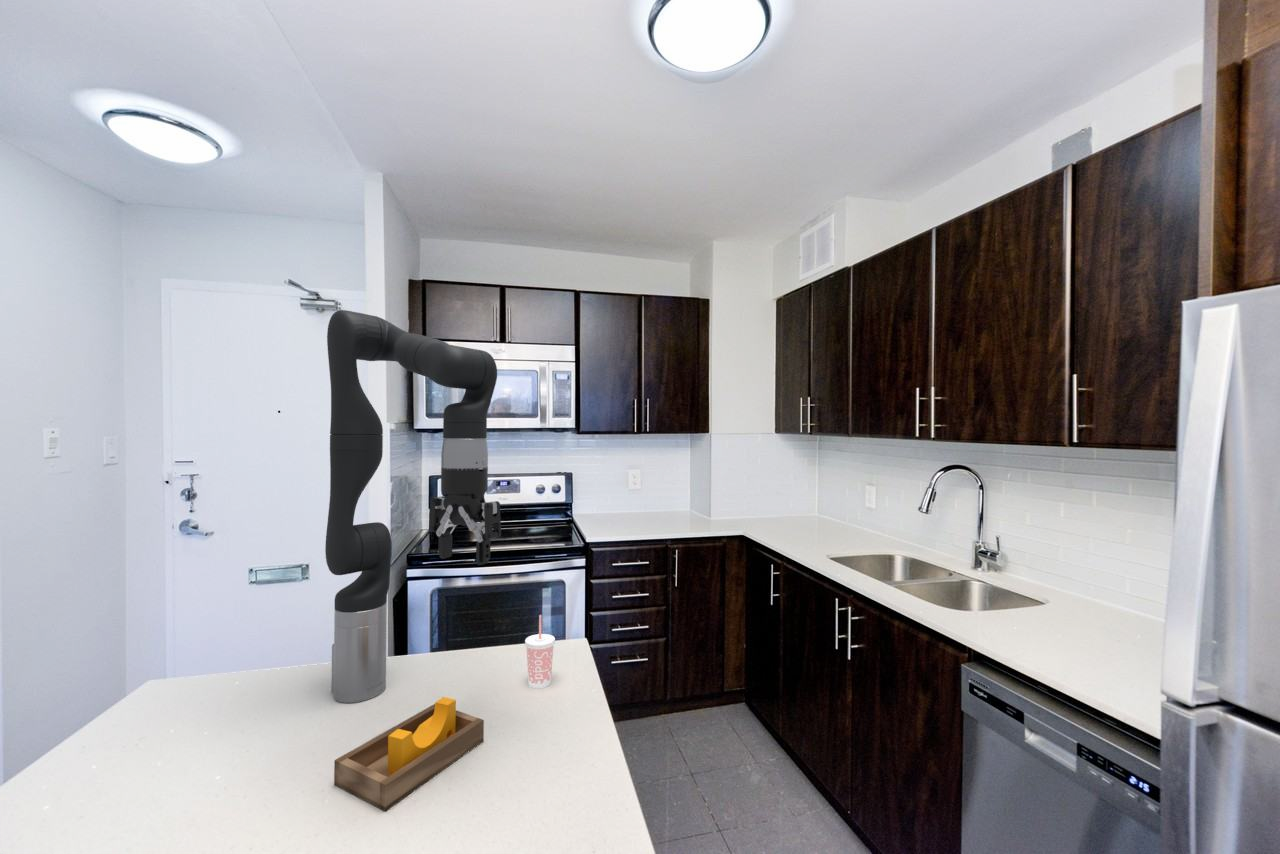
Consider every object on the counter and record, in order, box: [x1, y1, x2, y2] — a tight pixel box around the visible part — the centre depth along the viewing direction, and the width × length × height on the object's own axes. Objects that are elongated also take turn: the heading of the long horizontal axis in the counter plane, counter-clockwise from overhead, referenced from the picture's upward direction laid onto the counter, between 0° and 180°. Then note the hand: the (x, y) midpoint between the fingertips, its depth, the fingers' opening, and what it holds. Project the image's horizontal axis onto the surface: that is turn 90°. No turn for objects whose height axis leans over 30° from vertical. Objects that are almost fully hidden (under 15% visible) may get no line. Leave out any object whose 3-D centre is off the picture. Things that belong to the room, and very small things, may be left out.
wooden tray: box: [333, 703, 485, 812], centre depth 82 cm, size 11×18×4 cm, turn 152°
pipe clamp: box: [388, 696, 457, 777], centre depth 83 cm, size 12×4×6 cm, turn 162°
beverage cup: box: [524, 614, 556, 689], centre depth 108 cm, size 6×6×14 cm
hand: (463, 560), depth 89 cm, fingers open, 8 cm apart
